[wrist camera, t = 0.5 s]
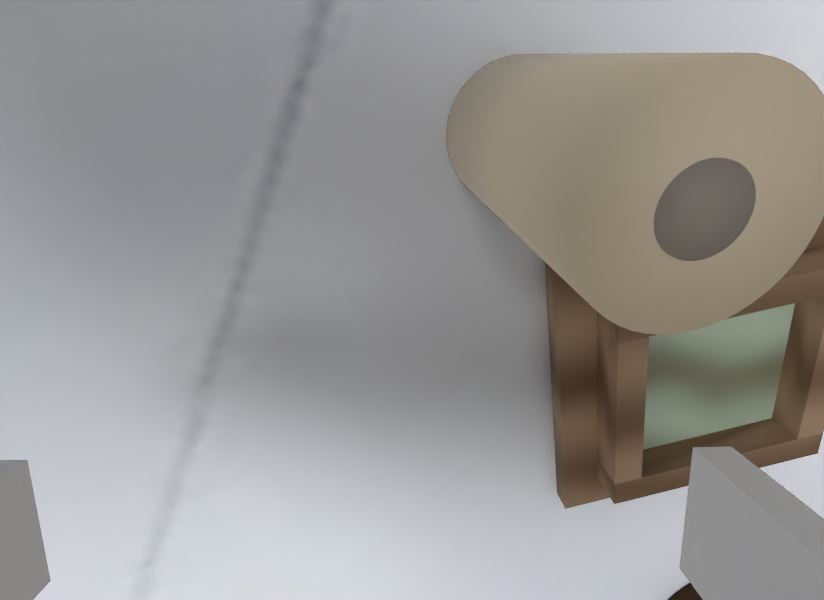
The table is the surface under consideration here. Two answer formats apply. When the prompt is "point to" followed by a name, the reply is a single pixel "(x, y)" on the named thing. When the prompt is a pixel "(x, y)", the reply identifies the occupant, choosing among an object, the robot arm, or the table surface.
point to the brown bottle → (687, 594)
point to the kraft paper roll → (649, 174)
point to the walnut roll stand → (685, 388)
